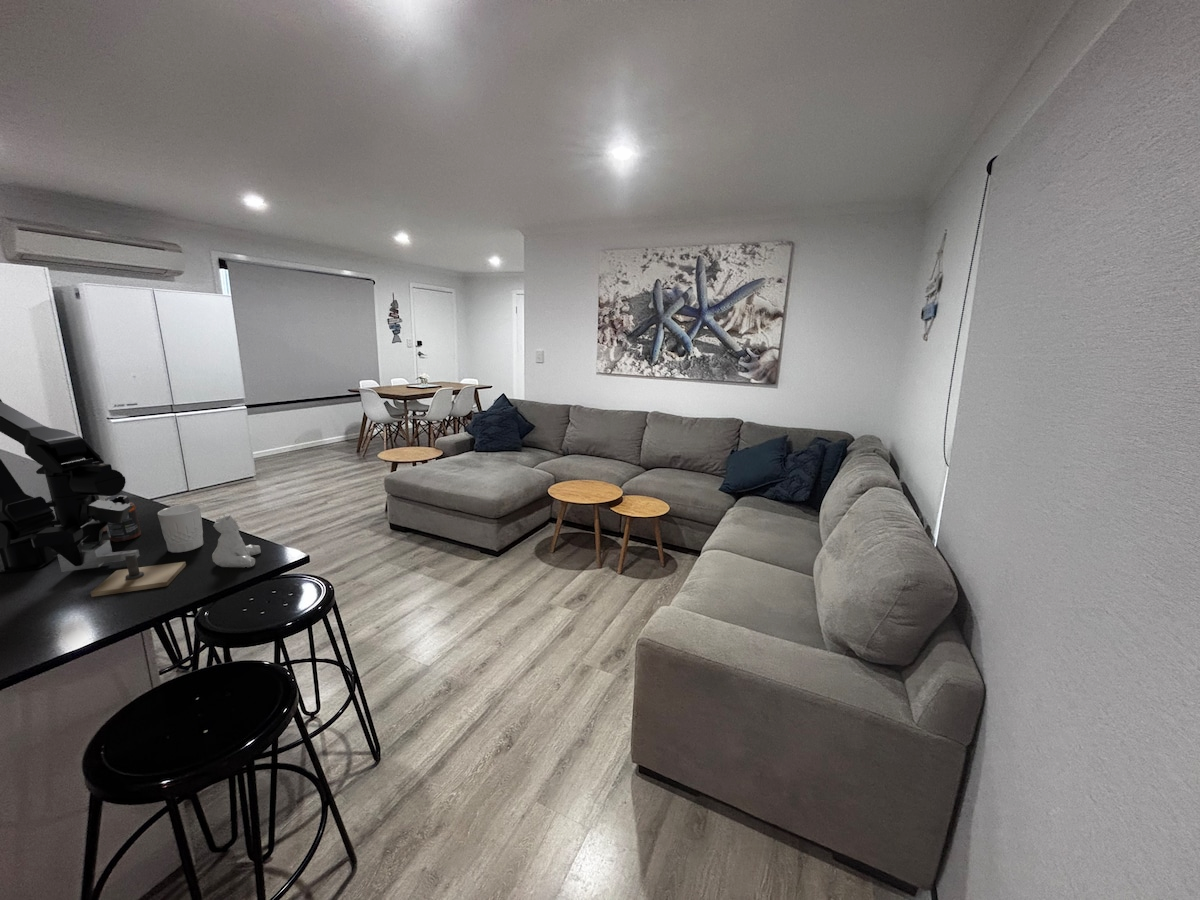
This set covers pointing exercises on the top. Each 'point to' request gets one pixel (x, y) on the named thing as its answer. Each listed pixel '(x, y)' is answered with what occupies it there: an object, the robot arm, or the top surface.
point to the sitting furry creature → (232, 545)
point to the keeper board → (138, 577)
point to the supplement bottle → (124, 525)
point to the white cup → (182, 527)
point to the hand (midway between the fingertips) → (87, 559)
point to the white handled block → (95, 556)
